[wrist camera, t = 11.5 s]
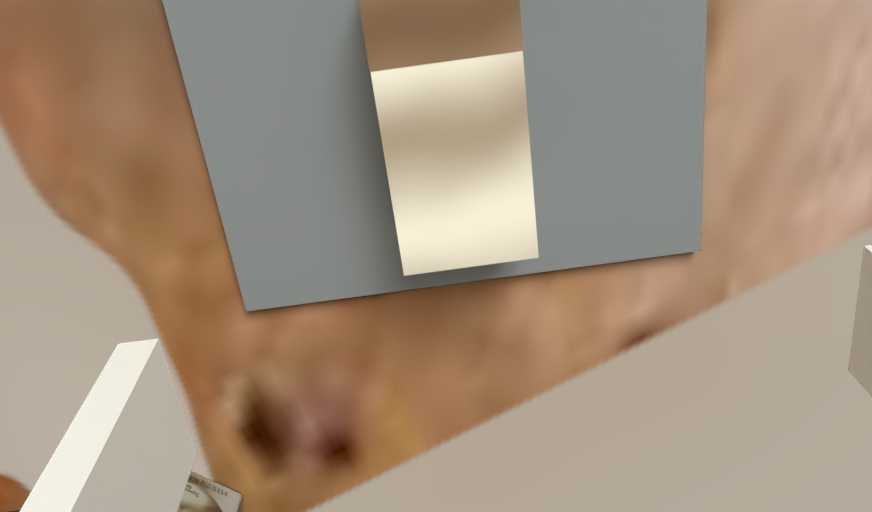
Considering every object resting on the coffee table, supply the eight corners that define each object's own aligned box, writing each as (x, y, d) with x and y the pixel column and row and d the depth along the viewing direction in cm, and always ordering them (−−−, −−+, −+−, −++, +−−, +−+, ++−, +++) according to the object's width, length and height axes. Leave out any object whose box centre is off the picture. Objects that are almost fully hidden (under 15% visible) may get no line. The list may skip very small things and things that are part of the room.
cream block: (521, 209, 33) (539, 257, 29) (402, 225, 33) (403, 276, 29) (500, -43, 29) (517, -27, 25) (362, -23, 29) (357, -5, 25)
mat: (705, -162, 28) (711, -163, 27) (696, 244, 35) (700, 251, 34) (144, -83, 28) (139, -82, 28) (248, 304, 35) (246, 311, 35)
